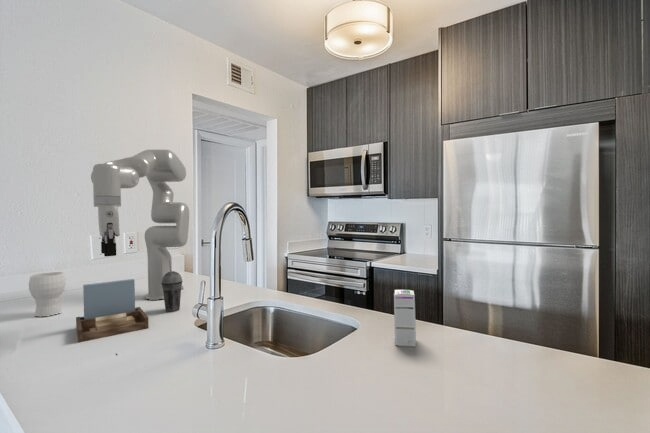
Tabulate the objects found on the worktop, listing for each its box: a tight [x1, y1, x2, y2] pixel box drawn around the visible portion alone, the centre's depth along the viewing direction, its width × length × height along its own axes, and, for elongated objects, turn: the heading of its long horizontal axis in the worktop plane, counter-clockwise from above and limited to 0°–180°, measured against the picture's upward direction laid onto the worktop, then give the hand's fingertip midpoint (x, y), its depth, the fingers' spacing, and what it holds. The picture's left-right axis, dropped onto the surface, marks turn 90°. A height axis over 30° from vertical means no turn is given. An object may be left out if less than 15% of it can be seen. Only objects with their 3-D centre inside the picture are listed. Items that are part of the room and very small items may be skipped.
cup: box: [28, 271, 66, 317], centre depth 126 cm, size 11×11×15 cm
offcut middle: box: [95, 316, 135, 331], centre depth 105 cm, size 10×4×2 cm, turn 131°
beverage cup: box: [161, 259, 183, 313], centre depth 125 cm, size 7×7×20 cm
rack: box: [75, 306, 150, 343], centre depth 107 cm, size 18×15×4 cm
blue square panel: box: [82, 278, 136, 320], centre depth 110 cm, size 14×2×14 cm, turn 128°
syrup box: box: [393, 289, 417, 348], centre depth 95 cm, size 6×6×14 cm
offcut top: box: [96, 313, 127, 326], centre depth 104 cm, size 8×4×2 cm, turn 124°
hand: (108, 254), depth 110 cm, fingers open, 9 cm apart
